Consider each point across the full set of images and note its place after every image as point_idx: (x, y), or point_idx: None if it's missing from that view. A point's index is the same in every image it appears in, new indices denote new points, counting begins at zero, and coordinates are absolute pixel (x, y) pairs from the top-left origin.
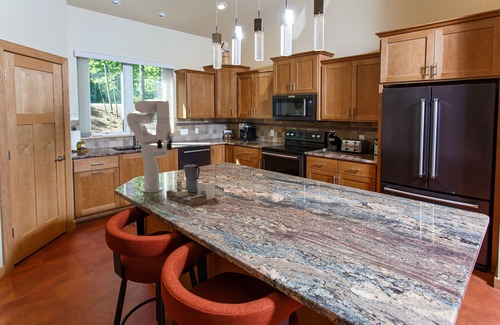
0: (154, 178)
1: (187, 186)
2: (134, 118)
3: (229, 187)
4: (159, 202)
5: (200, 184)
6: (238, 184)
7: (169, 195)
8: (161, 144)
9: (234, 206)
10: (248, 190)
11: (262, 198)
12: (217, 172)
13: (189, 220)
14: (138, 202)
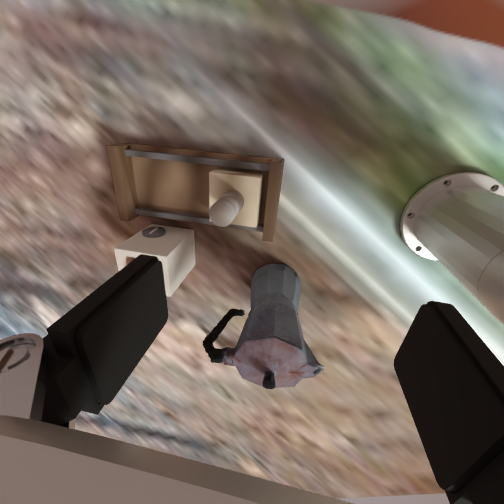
0: (450, 231)
1: (276, 277)
2: None
3: None
4: (259, 90)
5: (150, 250)
6: (220, 388)
7: (266, 163)
8: (425, 424)
9: (47, 216)
10: (153, 351)
11: (71, 307)
12: (378, 474)
13: None
14: (352, 9)
